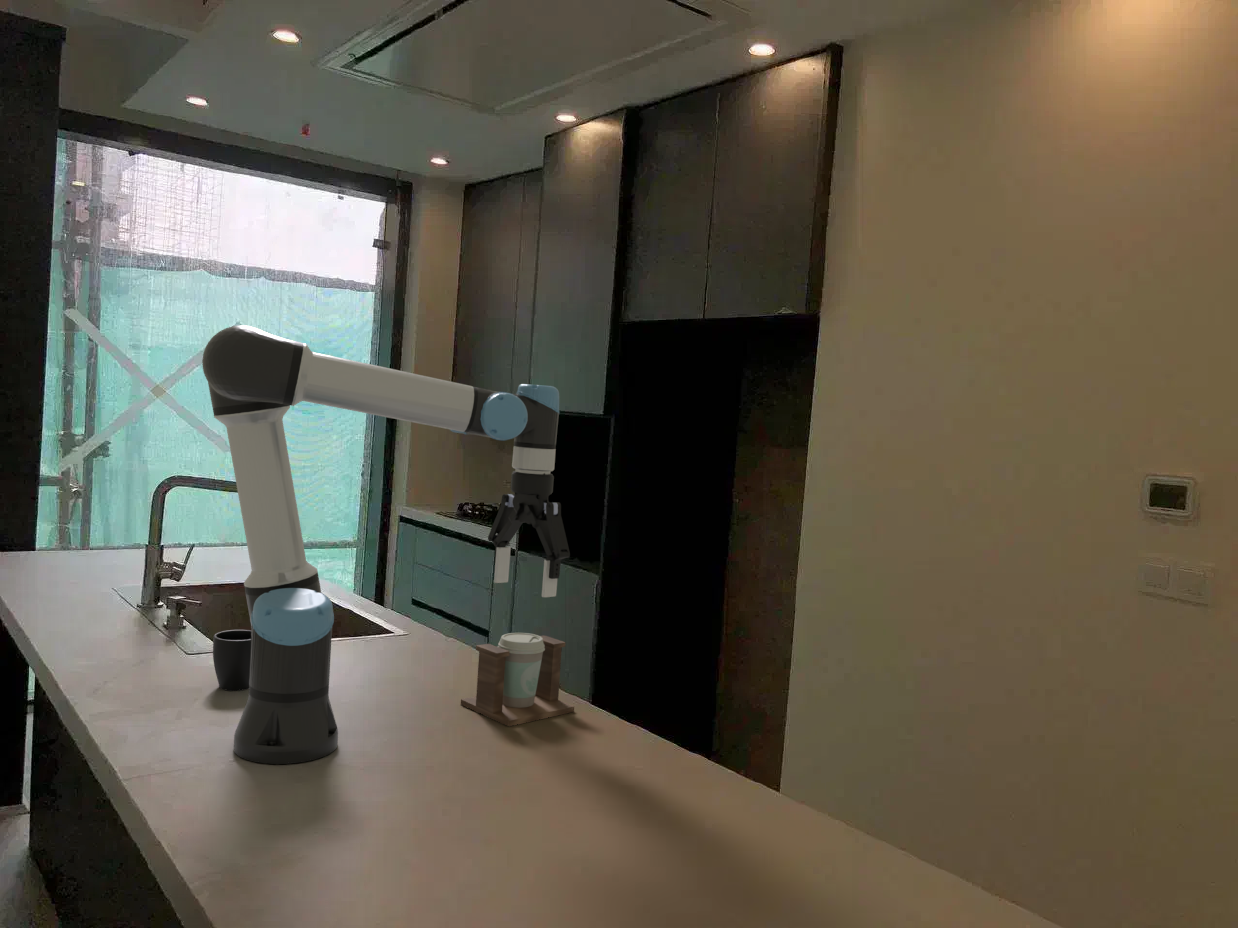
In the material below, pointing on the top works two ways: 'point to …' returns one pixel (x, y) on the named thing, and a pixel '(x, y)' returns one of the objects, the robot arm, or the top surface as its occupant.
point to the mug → (232, 659)
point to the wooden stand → (493, 686)
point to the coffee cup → (521, 668)
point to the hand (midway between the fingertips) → (524, 589)
